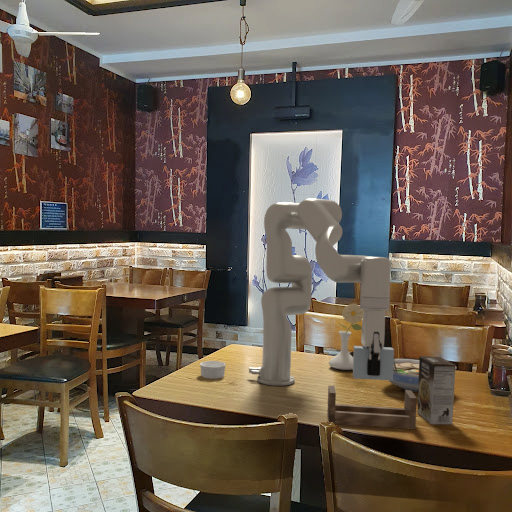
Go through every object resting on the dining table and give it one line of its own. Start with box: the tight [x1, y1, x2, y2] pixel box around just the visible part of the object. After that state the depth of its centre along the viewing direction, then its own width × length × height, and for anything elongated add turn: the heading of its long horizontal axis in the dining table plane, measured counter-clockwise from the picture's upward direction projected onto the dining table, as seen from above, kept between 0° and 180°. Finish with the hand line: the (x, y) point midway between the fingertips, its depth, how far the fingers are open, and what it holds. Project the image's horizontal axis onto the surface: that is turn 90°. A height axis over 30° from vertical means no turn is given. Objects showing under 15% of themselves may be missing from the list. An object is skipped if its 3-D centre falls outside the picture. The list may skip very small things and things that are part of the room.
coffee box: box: [416, 355, 456, 425], centre depth 137 cm, size 9×6×16 cm
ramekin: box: [199, 360, 227, 380], centre depth 174 cm, size 9×9×4 cm
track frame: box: [327, 384, 418, 430], centre depth 133 cm, size 22×7×8 cm, turn 84°
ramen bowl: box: [387, 358, 419, 393], centre depth 166 cm, size 25×23×8 cm
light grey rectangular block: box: [352, 345, 395, 381], centre depth 132 cm, size 10×3×8 cm, turn 84°
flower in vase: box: [328, 302, 363, 371], centre depth 190 cm, size 13×11×25 cm
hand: (372, 372), depth 132 cm, fingers closed on light grey rectangular block, 3 cm apart
